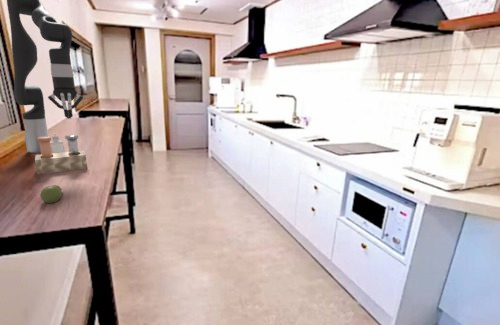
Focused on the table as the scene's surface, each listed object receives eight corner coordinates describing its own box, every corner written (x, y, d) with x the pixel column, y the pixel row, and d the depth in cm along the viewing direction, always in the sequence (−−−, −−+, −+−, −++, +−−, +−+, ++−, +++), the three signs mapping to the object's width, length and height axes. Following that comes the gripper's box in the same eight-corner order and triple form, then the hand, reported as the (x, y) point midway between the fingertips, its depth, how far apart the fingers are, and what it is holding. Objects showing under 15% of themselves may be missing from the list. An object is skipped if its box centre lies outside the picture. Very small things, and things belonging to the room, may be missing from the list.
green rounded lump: (36, 189, 89) (45, 183, 98) (39, 205, 89) (47, 198, 99) (57, 187, 91) (64, 181, 100) (60, 203, 91) (66, 196, 101)
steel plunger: (68, 160, 124) (65, 137, 121) (68, 157, 128) (64, 135, 125) (81, 158, 127) (78, 136, 124) (80, 156, 131) (77, 134, 128)
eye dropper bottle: (64, 158, 141) (60, 134, 137) (50, 158, 139) (46, 134, 135) (66, 155, 145) (62, 132, 141) (53, 156, 143) (49, 132, 139)
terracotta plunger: (40, 163, 119) (36, 139, 116) (41, 160, 123) (37, 137, 120) (54, 161, 121) (50, 138, 119) (54, 158, 125) (50, 136, 122)
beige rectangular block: (37, 174, 117) (34, 160, 116) (38, 168, 125) (35, 155, 123) (87, 168, 127) (85, 154, 125) (85, 162, 134) (83, 150, 133)
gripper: (80, 76, 124) (85, 116, 129) (43, 75, 117) (50, 117, 122) (82, 76, 118) (87, 118, 123) (42, 75, 111) (50, 120, 116)
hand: (69, 118), depth 122 cm, fingers closed
